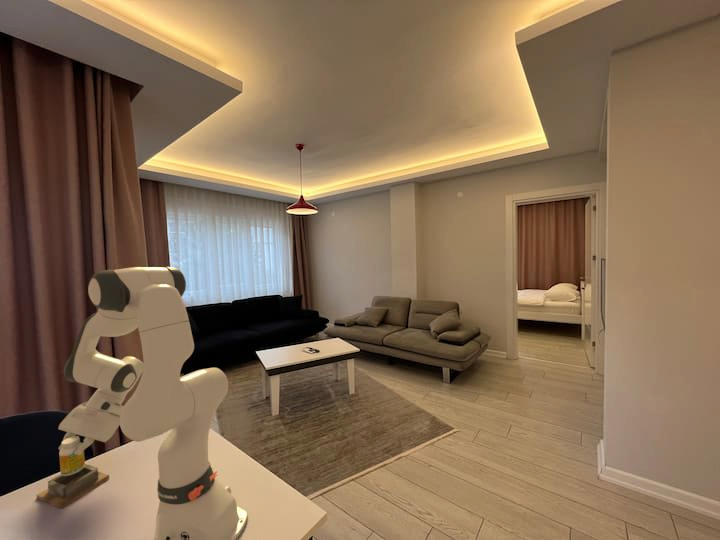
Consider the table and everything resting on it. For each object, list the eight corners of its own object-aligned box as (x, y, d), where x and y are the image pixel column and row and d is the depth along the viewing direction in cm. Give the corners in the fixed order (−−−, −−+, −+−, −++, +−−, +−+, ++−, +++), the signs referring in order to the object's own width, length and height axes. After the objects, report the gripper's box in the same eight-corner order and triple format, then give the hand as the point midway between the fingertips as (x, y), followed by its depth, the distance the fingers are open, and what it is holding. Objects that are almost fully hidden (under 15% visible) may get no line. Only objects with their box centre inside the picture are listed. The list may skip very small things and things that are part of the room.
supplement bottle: (70, 477, 89) (67, 446, 88) (56, 475, 90) (53, 444, 89) (89, 464, 94) (87, 435, 93) (76, 462, 95) (73, 433, 94)
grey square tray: (109, 478, 96) (108, 466, 96) (61, 508, 84) (60, 495, 84) (85, 470, 100) (84, 458, 99) (36, 498, 88) (35, 485, 88)
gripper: (74, 397, 101) (37, 443, 92) (115, 406, 94) (80, 456, 85) (90, 404, 105) (57, 448, 96) (131, 413, 99) (99, 461, 90)
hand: (68, 452), depth 91 cm, fingers closed on supplement bottle, 5 cm apart
